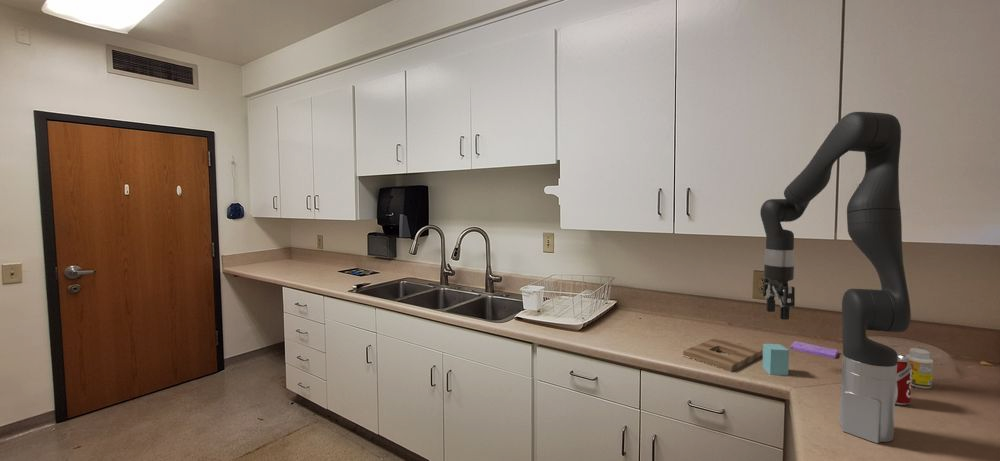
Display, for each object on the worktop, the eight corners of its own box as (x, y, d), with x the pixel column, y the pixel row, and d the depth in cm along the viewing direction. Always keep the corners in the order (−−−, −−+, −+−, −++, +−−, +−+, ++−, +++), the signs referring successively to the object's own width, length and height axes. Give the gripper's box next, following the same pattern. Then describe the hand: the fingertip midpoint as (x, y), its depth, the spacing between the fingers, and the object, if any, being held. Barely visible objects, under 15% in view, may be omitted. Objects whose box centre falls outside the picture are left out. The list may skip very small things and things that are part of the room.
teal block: (788, 375, 123) (788, 350, 122) (770, 374, 123) (770, 349, 123) (779, 368, 127) (780, 344, 127) (762, 368, 128) (763, 343, 128)
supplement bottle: (899, 379, 119) (901, 345, 118) (924, 382, 117) (926, 348, 116) (910, 387, 114) (912, 352, 113) (936, 390, 111) (938, 355, 111)
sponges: (795, 345, 149) (795, 340, 149) (838, 354, 139) (838, 349, 139) (790, 350, 144) (790, 345, 144) (834, 360, 135) (835, 354, 135)
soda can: (873, 392, 111) (875, 350, 110) (908, 399, 107) (910, 355, 106) (875, 401, 106) (878, 357, 105) (912, 409, 102) (914, 363, 101)
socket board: (731, 371, 126) (731, 365, 126) (683, 356, 139) (683, 350, 139) (762, 355, 138) (762, 350, 138) (715, 342, 151) (715, 337, 151)
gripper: (805, 267, 115) (803, 322, 117) (780, 260, 129) (778, 309, 131) (777, 267, 117) (775, 321, 118) (755, 260, 131) (753, 308, 132)
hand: (777, 315), depth 124 cm, fingers open, 8 cm apart
